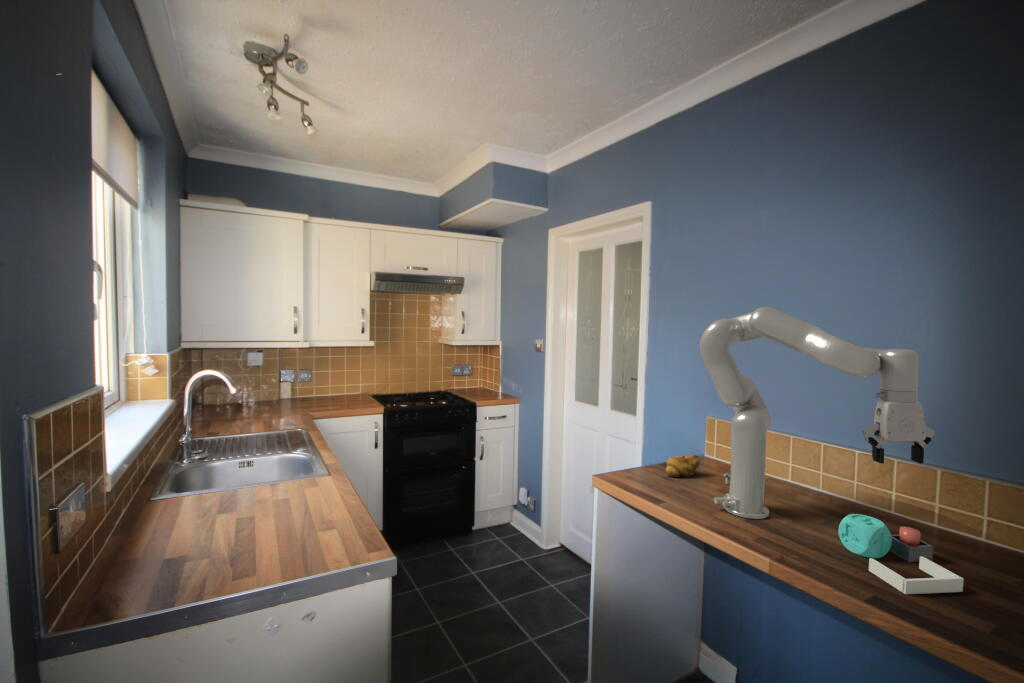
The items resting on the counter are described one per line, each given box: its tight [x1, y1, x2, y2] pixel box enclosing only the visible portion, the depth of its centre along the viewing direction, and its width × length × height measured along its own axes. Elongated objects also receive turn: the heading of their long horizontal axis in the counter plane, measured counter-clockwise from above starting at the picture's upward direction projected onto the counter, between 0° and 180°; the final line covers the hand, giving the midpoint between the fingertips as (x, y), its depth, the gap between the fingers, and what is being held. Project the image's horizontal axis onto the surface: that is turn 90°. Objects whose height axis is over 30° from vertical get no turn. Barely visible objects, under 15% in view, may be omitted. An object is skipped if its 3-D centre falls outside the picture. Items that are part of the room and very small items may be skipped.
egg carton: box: [723, 472, 730, 485], centre depth 166 cm, size 11×8×4 cm
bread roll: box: [665, 454, 701, 478], centre depth 175 cm, size 13×10×8 cm
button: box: [898, 526, 921, 546], centre depth 117 cm, size 4×4×4 cm
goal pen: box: [868, 556, 964, 595], centre depth 106 cm, size 14×9×3 cm
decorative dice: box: [837, 513, 892, 559], centre depth 119 cm, size 8×8×8 cm
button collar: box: [888, 533, 934, 563], centre depth 117 cm, size 6×6×4 cm
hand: (897, 462), depth 121 cm, fingers open, 9 cm apart
